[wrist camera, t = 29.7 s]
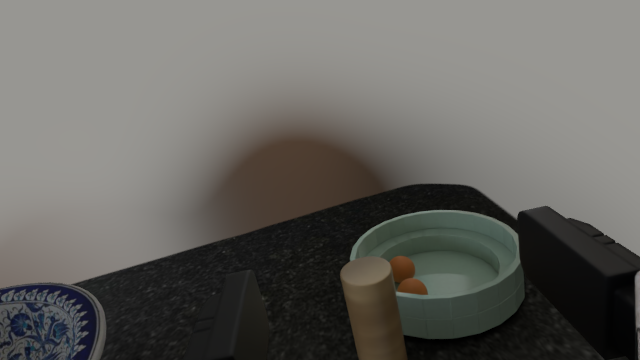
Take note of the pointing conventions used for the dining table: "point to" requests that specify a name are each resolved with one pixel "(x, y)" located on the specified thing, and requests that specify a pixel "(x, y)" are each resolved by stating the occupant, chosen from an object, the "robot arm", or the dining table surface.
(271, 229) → the dining table surface
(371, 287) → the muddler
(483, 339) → the dining table surface
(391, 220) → the pale green shallow dish
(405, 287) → the bead
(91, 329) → the ceramic bowl
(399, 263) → the bead
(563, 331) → the dining table surface
